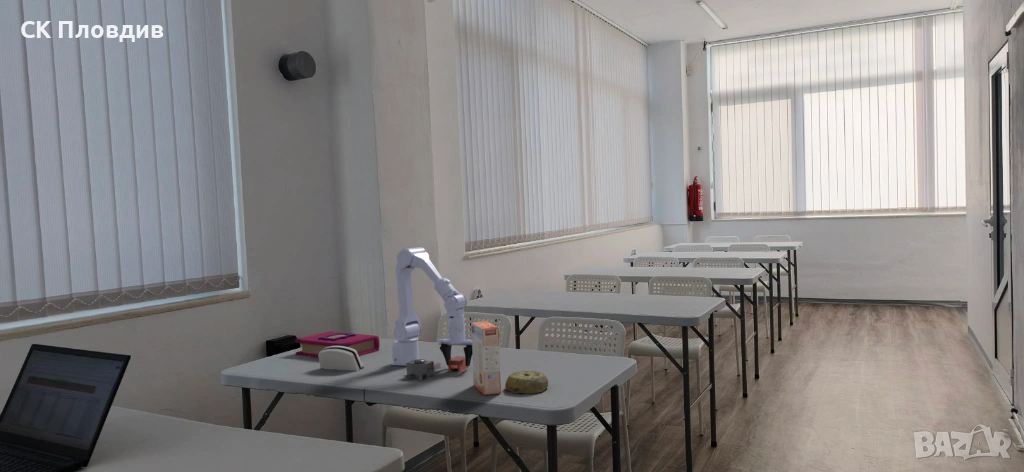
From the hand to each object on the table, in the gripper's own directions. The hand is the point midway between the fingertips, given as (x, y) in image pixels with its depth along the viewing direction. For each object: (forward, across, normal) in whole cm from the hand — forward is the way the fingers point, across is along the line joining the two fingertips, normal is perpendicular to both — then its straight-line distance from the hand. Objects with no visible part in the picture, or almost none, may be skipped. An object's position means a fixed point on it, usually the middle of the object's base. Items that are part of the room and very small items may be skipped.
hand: (458, 365), depth 251 cm
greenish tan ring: (+2, +34, -19) cm, 39 cm away
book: (+2, -64, +16) cm, 65 cm away
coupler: (+1, -8, -9) cm, 12 cm away
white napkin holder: (+2, -44, -9) cm, 45 cm away
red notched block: (+2, 0, 0) cm, 2 cm away
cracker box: (+2, +22, -23) cm, 32 cm away
